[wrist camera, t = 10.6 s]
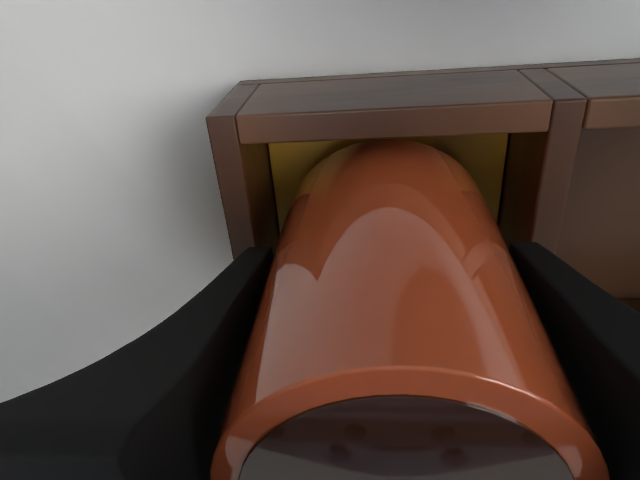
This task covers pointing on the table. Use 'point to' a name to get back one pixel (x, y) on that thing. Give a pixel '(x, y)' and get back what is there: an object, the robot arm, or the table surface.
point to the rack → (457, 150)
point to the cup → (399, 339)
